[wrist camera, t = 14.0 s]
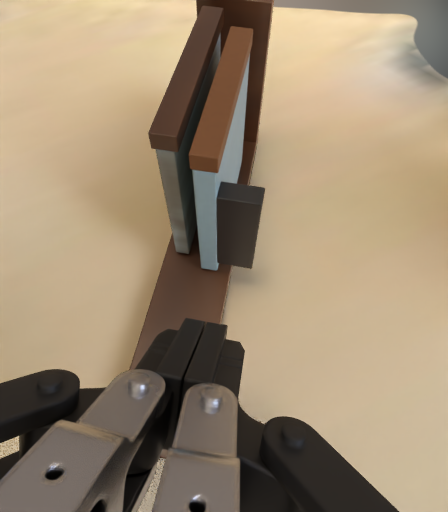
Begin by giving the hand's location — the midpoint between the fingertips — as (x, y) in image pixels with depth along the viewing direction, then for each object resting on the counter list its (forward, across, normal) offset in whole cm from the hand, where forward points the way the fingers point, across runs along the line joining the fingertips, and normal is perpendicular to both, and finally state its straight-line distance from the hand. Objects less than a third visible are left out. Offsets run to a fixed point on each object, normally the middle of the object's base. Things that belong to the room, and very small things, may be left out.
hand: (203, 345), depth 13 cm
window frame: (+16, +3, +2) cm, 16 cm away
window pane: (+17, +1, -2) cm, 17 cm away
